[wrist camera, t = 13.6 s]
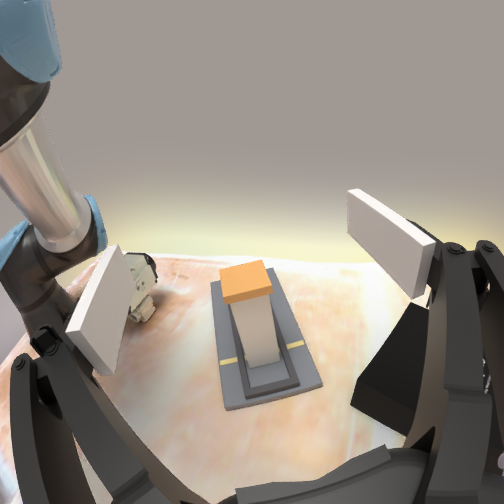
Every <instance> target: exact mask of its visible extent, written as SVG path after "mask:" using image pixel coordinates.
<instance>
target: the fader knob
mask: <svg viewBox="0 0 504 504" xmlns="http://www.w3.org/2000/svg"><path fill="white" fill-rule="evenodd" d="M219 272H220V279H221V286H222V293H223V299H224V302H225V305H227V304H230V306H231V310H232V313H233V316H234V320H235V323H236V326H237V329H238V332H239V336H240V339H241V342H242V345H243V348H244V351H245V354H246V357H247V361H248V364H249V367H250V368H254V367H258V366H262V365H266V364H270V363H274V362H278V361H280V356H279V350H278V345H277V339H276V333H275V327H274V321H273V315H272V310H271V304H270V298H269V294H272V293H273V289H272V284H271V282H270V279H269V277H268V274H267V272H266V269H265V267H264V264H263V261H262V260H258V261H254V262H250V263H246V264H241V265H237V266H233V267H229V268H225V269H221V270H219Z"/></svg>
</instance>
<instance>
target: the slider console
mask: <svg viewBox="0 0 504 504" xmlns="http://www.w3.org/2000/svg"><path fill="white" fill-rule="evenodd" d="M266 272H267V274H268V277H269V279H270V282H271V284H272V289H273V293H272V294H269V298H270V304H271V310H272V315H273V321H274V327H275V333H276V339H277V345H278V350H279V356H280V361H278V362H274V363H270V364H266V365H262V366H258V367H254V368H250V367H249V364H248V361H247V357H246V354H245V351H244V348H243V345H242V342H241V339H240V336H239V332H238V329H237V326H236V323H235V320H234V316H233V313H232V310H231V306H230V304H227V305H225V302H224V299H223V293H222V286H221V280H220V281H215V282H211V295H212V305H213V316H214V326H215V335H216V344H217V353H218V361H219V369H220V377H221V385H222V392H223V400H224V407H225V409H226V411H229V410H234V409H239V408H244V407H249V406H253V405H258V404H262V403H266V402H270V401H274V400H278V399H282V398H286V397H289V396H293V395H297V394H300V393H303V392H307V391H310V390H313V389H316V388H319V387H322V381H321V378H320V376H319V373H318V371H317V369H316V366H315V364H314V362H313V359H312V357H311V355H310V352H309V350H308V348H307V345H306V343H305V341H304V338H303V336H302V334H301V331H300V329H299V327H298V324H297V322H296V320H295V317H294V315H293V313H292V310H291V308H290V306H289V304H288V301H287V299H286V297H285V294H284V292H283V290H282V288H281V285H280V283H279V281H278V278H277V276H276V274H275V272H274V269H273V268H269V269H266Z"/></svg>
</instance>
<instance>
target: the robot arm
mask: <svg viewBox="0 0 504 504" xmlns="http://www.w3.org/2000/svg"><path fill="white" fill-rule="evenodd" d="M61 68H62V61H61V55H60V49H59V44H58V40H57V35H56V30H55V23H54V18H53V12H52V7H51V2H50V0H0V187H1V189H2V190H3V191H4V192H5V194H6V195H7V196H8V197H9V198H10V199H11V201H12V202H13V203H14V204H15V205H16V207H17V208H18V209H19V210H20V211H21V212H22V213H23V215H24V216H25V217H26V218H27V219H28V220H29V221H30V222H31V223H32V225H29V222H27V220H23V221H22V222H21V223H19V224H17V225H16V226H15V227H14V228H12V229H11V230H10V231H9V232H8V233H7V234H6V235H5V236H4V237H3V238H2V239H1V240H0V282H1V283H2V285H3V287H4V289H5V290H6V292H7V293H8V295H9V297H10V298H11V300H12V302H13V303H14V304H15V306H16V308H17V309H18V311H19V312H20V314H21V316H22V318H23V321H24V324H25V327H26V329H27V332H28V335H29V337H30V345H31V346H32V347H33V348H34V349H35V351H36V352H37V353H38V354H39V355H40V357H39V358H37V359H35V360H33V359H32V358H31V357H30V356H29V355H28V354H27V353H23V354H21V355H19V356H17V357H16V359H15V360H14V362H13V364H12V367H11V377H10V425H11V438H12V448H13V456H14V463H15V469H16V474H17V480H18V484H19V489H20V493H21V497H22V501H23V504H96V502H95V500H94V497H93V495H92V493H91V490H90V488H89V485H88V482H87V480H86V477H85V474H84V471H83V468H82V465H81V462H80V459H79V456H78V453H77V449H76V446H75V442H74V438H73V435H74V437H75V439H76V440H77V442H78V444H79V446H80V448H81V450H82V451H83V453H84V455H85V456H86V458H87V460H88V461H89V463H90V465H91V466H92V468H93V469H94V471H95V472H96V474H97V475H98V477H99V478H100V480H101V481H102V483H103V484H104V486H105V487H106V489H107V490H108V491H109V493H110V494H111V496H112V497H113V501H112V502H111V504H210V503H208V502H207V501H206V500H204V499H203V498H201V497H200V496H199V495H197V494H195V493H194V492H192V491H191V490H190V489H188V488H187V487H186V486H185V485H184V484H183V483H182V482H180V481H179V480H178V479H177V478H176V477H175V476H174V475H173V474H172V473H171V472H170V471H169V470H168V469H167V468H166V467H165V466H164V465H163V464H162V463H161V462H160V461H159V460H158V459H157V458H156V456H155V455H154V454H153V453H152V452H151V451H150V450H149V449H148V448H147V447H146V445H145V444H144V443H143V442H142V441H141V440H140V438H139V437H138V436H137V435H136V434H135V432H134V431H133V430H132V429H131V428H130V426H129V425H128V424H127V422H126V421H125V420H124V419H123V417H122V416H121V415H120V413H119V412H118V411H117V409H116V408H115V407H114V405H113V404H112V402H111V401H110V400H109V398H108V397H107V395H106V394H105V392H104V391H103V389H102V388H101V386H100V385H99V383H98V382H97V380H96V379H95V378H94V377H93V375H92V372H93V368H94V369H95V370H96V371H97V372H98V373H99V374H100V376H104V375H115V370H116V365H117V360H118V355H119V350H120V345H121V340H122V336H123V332H124V327H125V323H126V319H127V315H128V311H129V307H130V303H131V299H132V296H133V292H134V288H135V285H136V283H135V281H134V278H133V276H132V274H131V272H130V270H129V268H128V265H127V263H126V261H125V259H124V256H123V254H122V252H121V250H120V247H119V245H118V244H116V245H113V246H109V247H107V245H108V239H107V234H106V231H105V228H104V224H103V220H102V217H101V214H100V212H99V209H98V206H97V203H96V201H95V199H94V198H93V196H91V195H87V196H82V195H81V194H79V193H78V192H75V191H73V189H72V187H71V185H70V183H69V181H68V178H67V176H66V174H65V171H64V169H63V166H62V164H61V162H60V159H59V157H58V154H57V151H56V149H55V146H54V143H53V141H52V138H51V135H50V132H49V129H48V126H47V123H46V120H45V117H44V114H43V111H42V108H43V106H44V104H45V103H46V101H47V99H48V96H49V93H50V80H51V79H52V78H53V77H54V76H56V75H57V74H58V73H59V72H60V71H61ZM347 214H348V215H347V218H348V220H347V222H348V231H347V233H348V234H349V235H350V236H351V237H352V238H353V239H354V240H355V241H356V242H357V243H358V244H359V245H360V246H361V247H362V248H363V249H364V250H365V251H366V252H367V253H368V254H369V255H370V256H371V257H372V258H373V259H374V260H375V261H376V262H377V263H378V264H379V265H380V266H381V267H382V268H383V269H384V270H385V271H386V272H387V273H388V274H389V275H390V277H391V278H392V279H393V280H394V281H395V282H396V283H397V284H398V285H399V286H400V287H401V288H402V290H403V291H404V292H405V293H406V294H407V295H408V296H409V297H410V298H411V300H412V299H414V298H417V297H419V296H421V295H423V294H424V292H425V288H426V284H428V285H429V286H430V287H431V292H430V295H429V299H428V302H427V305H426V307H427V308H428V306H429V323H428V336H427V347H426V356H425V364H424V371H423V377H422V383H421V389H420V394H419V399H418V404H417V409H416V413H415V418H414V422H413V425H412V428H411V430H410V432H409V434H408V436H407V438H406V440H405V443H404V446H403V448H393V449H387V448H386V446H385V444H384V445H382V446H380V447H378V448H376V449H373V450H371V451H369V452H367V453H364V454H362V455H359V456H357V457H355V458H352V459H350V460H349V461H347V462H346V463H344V464H343V465H341V466H339V467H338V468H336V469H335V470H333V471H331V472H330V473H328V474H326V475H325V476H323V477H321V478H319V479H317V480H314V481H301V482H272V483H267V484H262V485H256V486H250V487H244V488H237V489H235V490H236V494H235V495H232V496H230V497H228V498H226V499H224V500H222V501H221V502H219V503H218V504H504V453H502V454H501V455H500V456H499V459H498V466H499V468H501V469H503V474H502V476H500V475H496V474H492V473H488V472H485V471H484V467H485V462H486V456H487V450H488V444H489V436H490V427H491V416H492V397H491V396H490V394H486V393H484V390H483V350H484V353H485V357H486V361H487V365H488V369H489V373H490V377H491V382H492V387H493V392H494V397H495V403H496V409H497V416H498V423H499V429H500V434H501V439H502V443H503V446H504V256H503V254H502V253H501V252H500V250H499V249H498V247H497V246H496V245H494V244H493V243H492V242H490V241H487V240H486V241H485V240H480V241H478V242H477V245H476V248H475V250H473V251H466V249H465V248H464V247H463V246H461V245H459V244H457V243H453V242H447V243H442V242H441V241H440V240H439V239H437V238H436V237H434V236H433V235H432V234H430V233H429V232H427V231H426V230H425V229H424V228H422V227H421V226H419V225H418V224H416V223H415V222H412V221H410V220H407V219H404V218H402V217H401V216H400V215H398V214H397V213H395V212H394V211H392V210H391V209H389V208H388V207H386V206H385V205H383V204H382V203H380V202H378V201H377V200H375V199H374V198H372V197H371V196H369V195H368V194H366V193H364V192H363V191H361V190H360V189H353V190H348V191H347ZM106 247H107V248H106ZM104 250H105V251H104ZM101 251H104V253H103V255H102V257H101V258H100V260H99V262H98V264H97V266H96V268H95V270H94V271H93V273H92V275H91V277H90V279H89V281H88V283H87V285H86V287H85V289H84V291H83V293H82V296H81V298H78V300H77V301H76V300H75V298H73V297H72V296H71V295H70V294H69V293H68V292H67V291H65V290H64V289H63V288H62V287H61V286H60V285H59V284H58V283H57V281H56V279H55V276H57V275H59V274H61V273H63V272H65V271H66V270H68V269H70V268H72V267H74V266H76V265H77V264H79V263H81V262H83V261H85V260H87V259H89V258H91V257H94V256H97V255H98V253H100V252H101ZM489 283H490V290H488V288H487V287H488V284H489ZM72 433H73V434H72Z"/></svg>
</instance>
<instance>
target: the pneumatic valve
mask: <svg viewBox="0 0 504 504" xmlns="http://www.w3.org/2000/svg"><path fill="white" fill-rule="evenodd" d="M124 259H125V261H126V263H127V265H128V268H129V270H130V272H131V274H132V276H133V278H134V281H135V283H136V285H135V288H134V292H133V296H132V299H131V303H130V307H129V311H128V315H129V317H130V318H131V319H132V320H133V321H134V322H139V321H140V320H142V321H143V322H147V321H148V319H149V318H150V317H151V315H152V314H153V313H154V311H155V306H153V303H154V301H153V299H152V298H151V297H150V296H149V295H147V294H148V292H149V291H150V290H151V289H152V288H153V286H154V285H155V284H156V283H157V278H158V276H157V274H156V271H155V270H156V264H155V262H154V260H153V259H152V258H151V257H150V256H149V255H147V254H146V253H130V252H128V253H126V254H125V255H124Z"/></svg>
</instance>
